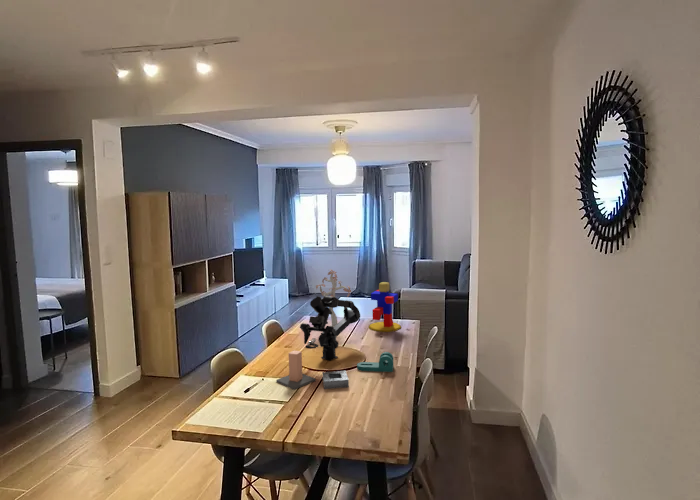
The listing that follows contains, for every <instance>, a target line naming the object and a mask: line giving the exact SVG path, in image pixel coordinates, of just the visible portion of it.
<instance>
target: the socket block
mask: <svg viewBox="0 0 700 500" xmlns="http://www.w3.org/2000/svg"><path fill="white" fill-rule="evenodd" d="M321 375H322V382H323V389H324V390H330V389H342V388H344V389H345V388H349V386H350V385H349V383H350V382H349V380H350V379H349V377H348V372H347V370H336V371H335V370H334V371H325V372H324V371H323V372H322V374H321Z"/></svg>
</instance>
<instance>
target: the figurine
mask: <svg viewBox="0 0 700 500" xmlns="http://www.w3.org/2000/svg"><path fill="white" fill-rule="evenodd" d="M390 289H391V288H390V282H388V281H387V282H386V281H382V282H380V283H379V284H378V289H376V290H375V291H373V292H371V293H370V300H371V301H376V304H377V305H376V307H374V308H373V309H372V320H374V321H379V322H373V323H371V324H369V325H368V329H369V330H371V331H372V332H377V333H378V332H379V333H393V332H397V331H400V330H401V329H402V326H401V325H400V324H399V323H397V322H394V321H393V304H395V303H397V302H398V301H399V293H392V292H391V293H389V292H390ZM382 316H383V321H381V318H382Z"/></svg>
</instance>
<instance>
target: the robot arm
mask: <svg viewBox="0 0 700 500" xmlns="http://www.w3.org/2000/svg"><path fill="white" fill-rule="evenodd" d="M309 305H310V307H311V308H312V309H313V310H314V312H316V313H317V315H315V316H313V315H312V316H309V320H308V323H301V324H300V326H299V328H300V330H301V331H302V332H303V335H304V336H303V343H304V344H305V345H307V344H308V342H309V338H310V337H311V335H312V334H311V333H312V331H313V332H319V333H320V335H319V336H318V343H319V346H320V348H322V356H321V357H320V358H321V359H322V360H327V361H333V360H335V359H338V356H336V349H338V347H339V341H337V338H338V337H339V335H340V334H342V333H343V331H344V330H346V328H347V327H348V326H350V325H351V324H354V323H356V322H358V321H359V320H360V318H361V312H360V310H359V308H358V307H357V306H356V305H355V303H354V301H352V300H347V299H346V300H343V299H339V298H338V297H336V296H335V297H330V295H328V296H323V297H322V296H318V295H316V297H315V298H312V300H311V301H310V302H309ZM329 307H331V308H333V309H334V308H338V307H342V308H343V311H342V312H343V318H341V320H340V321H338V322H337V324H336V325H335V326H334V327H333V326H330V325H328V320H329V317H330V314H332V312H331V309H329ZM310 324H311V325H310Z"/></svg>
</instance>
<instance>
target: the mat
mask: <svg viewBox="0 0 700 500" xmlns="http://www.w3.org/2000/svg"><path fill="white" fill-rule="evenodd" d="M302 377H303V378H302V379H301V380H299V381H298V382H296V381H290V380H289V374H288V375H286V376H283V377H280V378H278V379H276V380H275V381H276V383H278V384H281V385H283V386H285V387H287V388H289V389H291V390H297V389H299V388H301V387H304V386H307V385H309V384H312V383H314V382H316V381H317V380H316V379H317V378H315V377H314V376H309V375H307V374H305V373H302Z"/></svg>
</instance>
